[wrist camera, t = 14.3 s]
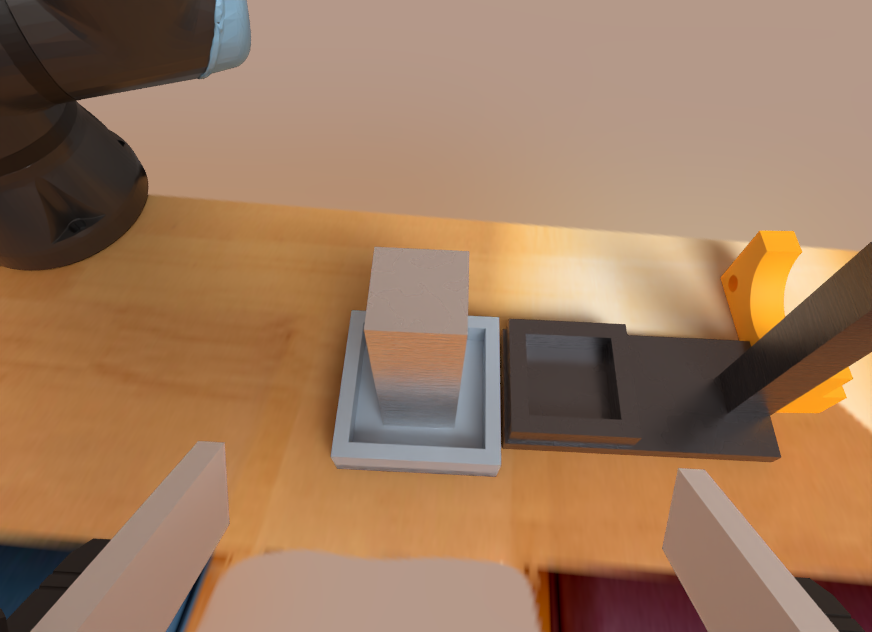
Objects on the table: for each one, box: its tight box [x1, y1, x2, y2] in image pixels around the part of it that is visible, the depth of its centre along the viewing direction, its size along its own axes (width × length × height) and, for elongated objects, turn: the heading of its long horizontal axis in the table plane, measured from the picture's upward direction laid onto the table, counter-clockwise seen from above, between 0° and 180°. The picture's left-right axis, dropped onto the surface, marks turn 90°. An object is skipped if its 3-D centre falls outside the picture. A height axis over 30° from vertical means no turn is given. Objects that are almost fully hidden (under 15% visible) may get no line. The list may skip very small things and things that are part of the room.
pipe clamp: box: [721, 231, 853, 413], centre depth 41 cm, size 12×4×6 cm, turn 179°
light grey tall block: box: [364, 247, 469, 429], centre depth 34 cm, size 5×5×14 cm
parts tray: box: [331, 310, 501, 477], centre depth 39 cm, size 11×11×3 cm
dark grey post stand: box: [501, 242, 872, 462], centre depth 33 cm, size 19×9×17 cm, turn 87°
